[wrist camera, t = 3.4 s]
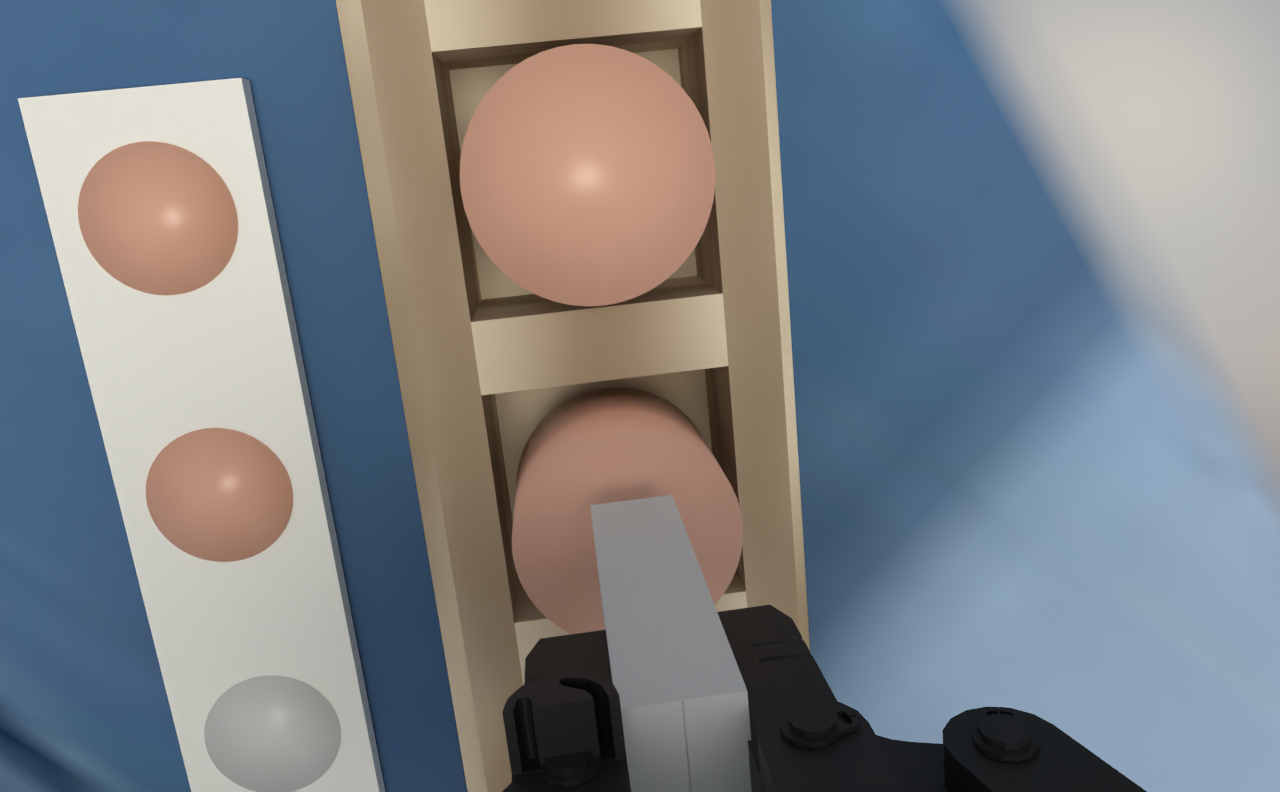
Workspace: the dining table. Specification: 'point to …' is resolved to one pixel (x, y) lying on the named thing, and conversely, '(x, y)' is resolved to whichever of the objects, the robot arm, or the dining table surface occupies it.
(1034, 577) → the dining table surface
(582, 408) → the button middle
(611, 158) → the button
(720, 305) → the button panel
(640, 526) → the robot arm
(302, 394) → the pattern card
